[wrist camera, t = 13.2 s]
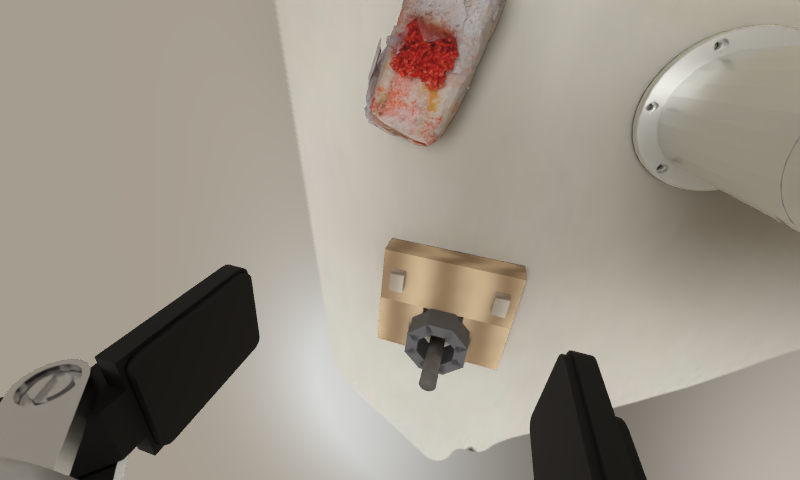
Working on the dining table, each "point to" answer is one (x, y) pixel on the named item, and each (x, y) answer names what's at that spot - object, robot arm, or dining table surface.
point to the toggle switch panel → (449, 300)
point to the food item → (428, 66)
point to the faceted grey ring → (441, 327)
